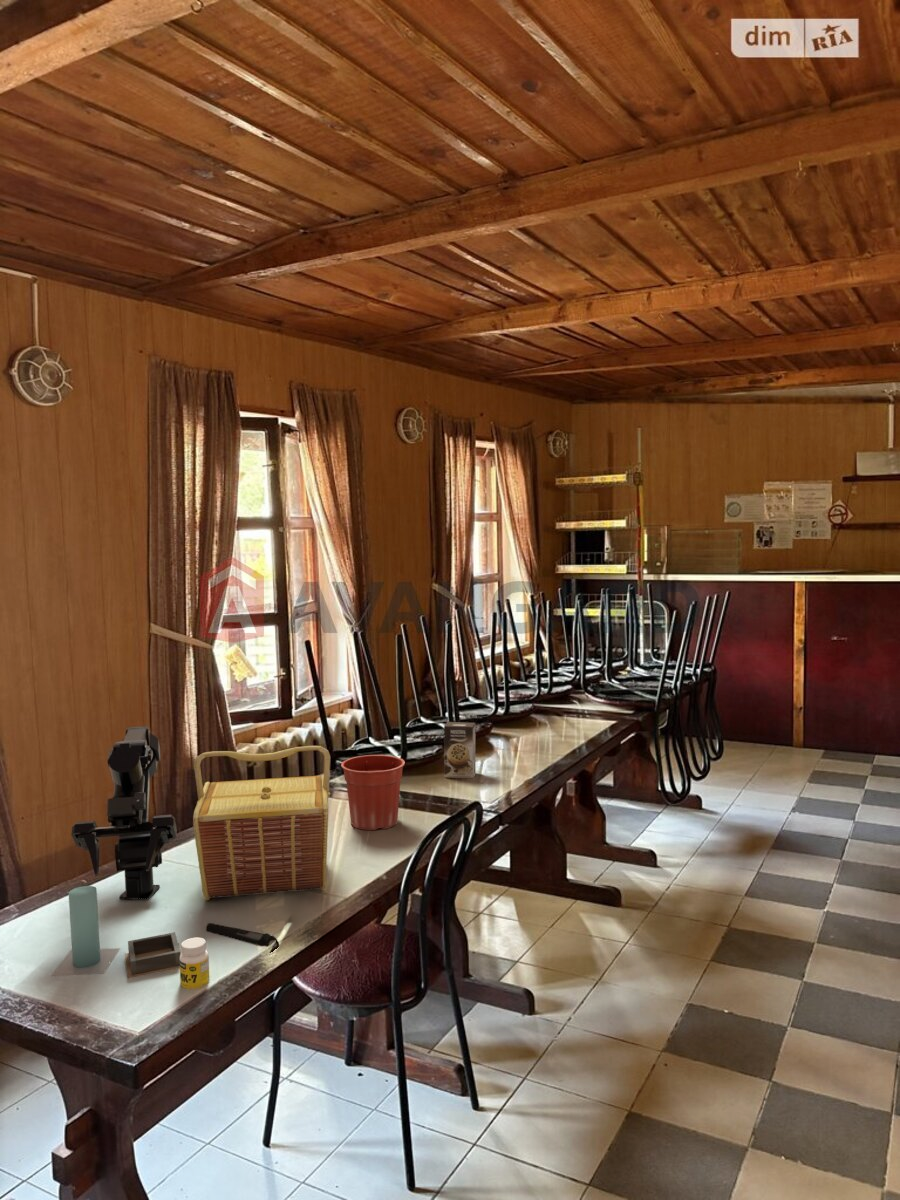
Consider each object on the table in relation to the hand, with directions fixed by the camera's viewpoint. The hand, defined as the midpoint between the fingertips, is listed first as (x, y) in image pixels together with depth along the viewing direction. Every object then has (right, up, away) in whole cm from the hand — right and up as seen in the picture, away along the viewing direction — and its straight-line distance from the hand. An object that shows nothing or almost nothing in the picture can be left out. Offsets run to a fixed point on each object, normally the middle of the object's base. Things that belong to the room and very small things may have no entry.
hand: (121, 872), depth 168 cm
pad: (-3, -15, -9) cm, 17 cm away
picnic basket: (+22, -11, +28) cm, 37 cm away
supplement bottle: (+19, -15, -17) cm, 29 cm away
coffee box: (+65, -3, +106) cm, 124 cm away
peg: (-3, -13, -9) cm, 16 cm away
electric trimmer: (+23, -14, -1) cm, 27 cm away
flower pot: (+42, -7, +65) cm, 78 cm away
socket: (+9, -14, -9) cm, 19 cm away
